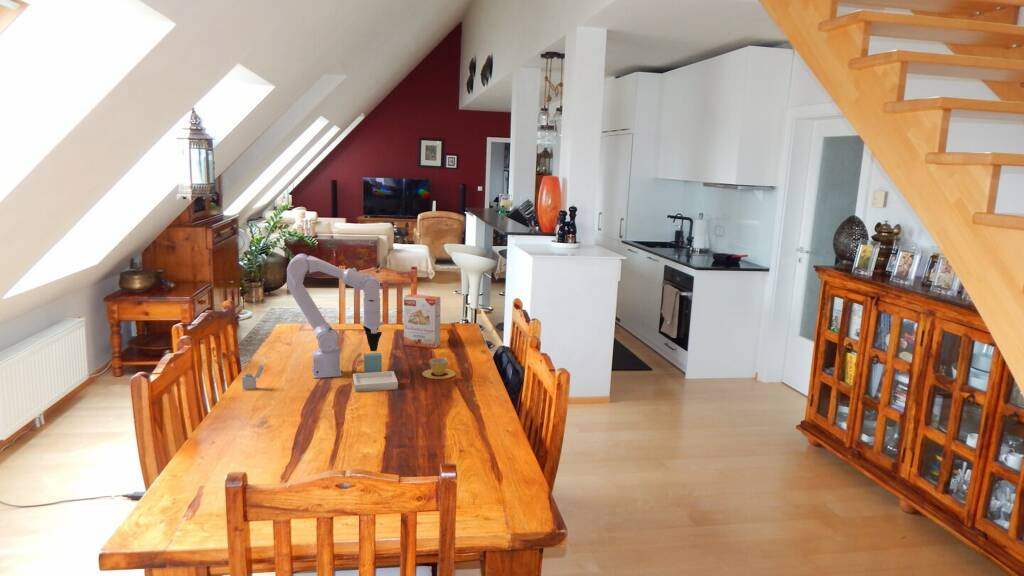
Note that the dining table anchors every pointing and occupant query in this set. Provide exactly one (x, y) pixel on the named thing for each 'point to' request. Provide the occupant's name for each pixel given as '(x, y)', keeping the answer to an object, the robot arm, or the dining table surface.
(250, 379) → the lighter
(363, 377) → the tray
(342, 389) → the dining table surface
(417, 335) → the cracker box
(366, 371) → the teal block
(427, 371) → the cup
